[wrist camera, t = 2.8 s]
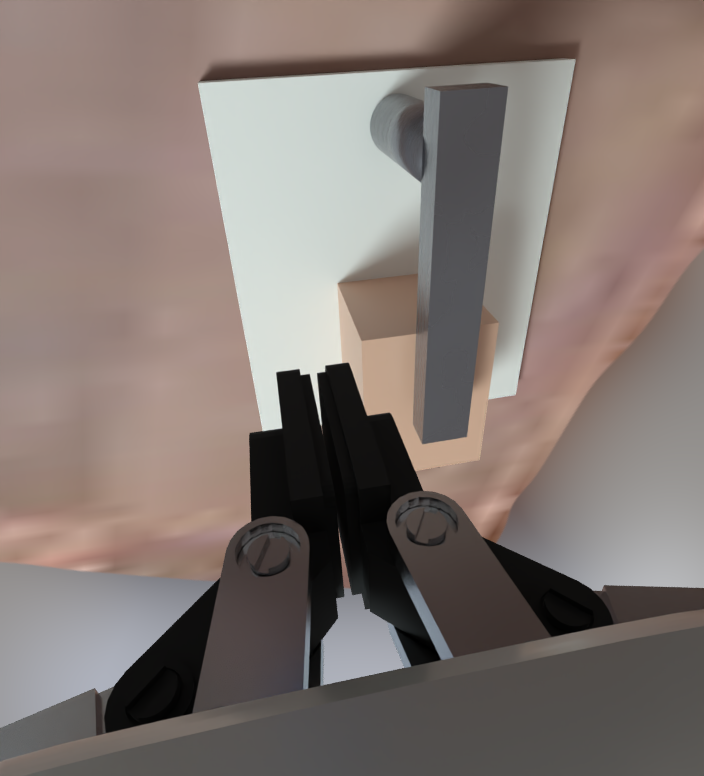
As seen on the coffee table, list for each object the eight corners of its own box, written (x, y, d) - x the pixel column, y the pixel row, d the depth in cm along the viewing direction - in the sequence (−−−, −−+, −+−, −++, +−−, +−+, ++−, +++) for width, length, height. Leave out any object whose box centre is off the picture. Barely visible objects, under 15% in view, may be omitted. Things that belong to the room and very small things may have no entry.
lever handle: (368, 72, 21) (433, 91, 14) (425, 69, 21) (515, 86, 14) (374, 348, 28) (417, 445, 22) (415, 342, 28) (471, 436, 22)
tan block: (337, 283, 26) (361, 341, 21) (450, 269, 27) (499, 322, 22) (344, 408, 30) (366, 479, 26) (441, 393, 31) (479, 460, 26)
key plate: (199, 81, 21) (197, 83, 20) (563, 58, 23) (575, 59, 22) (262, 423, 31) (263, 433, 30) (508, 386, 33) (515, 395, 32)
